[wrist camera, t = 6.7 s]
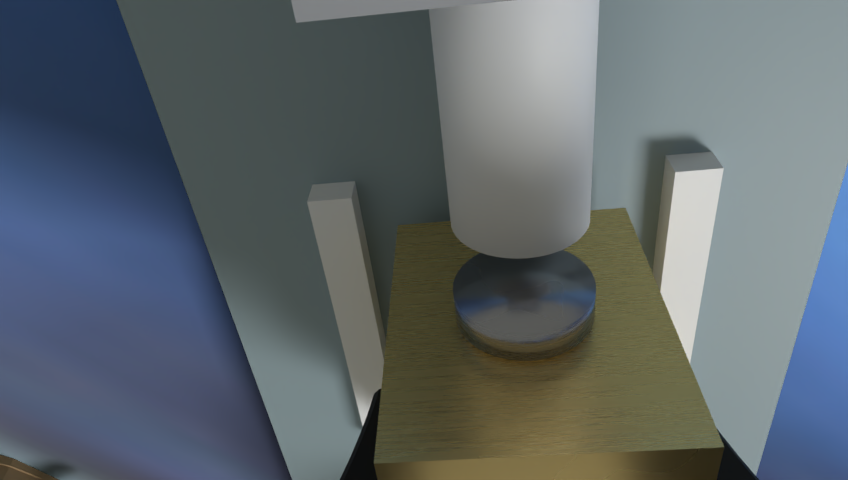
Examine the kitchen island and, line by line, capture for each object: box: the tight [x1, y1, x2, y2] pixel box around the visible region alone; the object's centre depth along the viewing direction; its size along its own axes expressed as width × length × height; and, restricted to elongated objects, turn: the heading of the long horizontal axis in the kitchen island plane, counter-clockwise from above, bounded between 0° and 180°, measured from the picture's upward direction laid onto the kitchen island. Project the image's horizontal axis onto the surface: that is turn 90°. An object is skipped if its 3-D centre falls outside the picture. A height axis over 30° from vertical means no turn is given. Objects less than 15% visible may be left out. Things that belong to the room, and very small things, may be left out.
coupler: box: [374, 208, 724, 480], centre depth 11 cm, size 4×7×5 cm, turn 6°
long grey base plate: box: [116, 0, 848, 480], centre depth 13 cm, size 12×24×6 cm, turn 6°
